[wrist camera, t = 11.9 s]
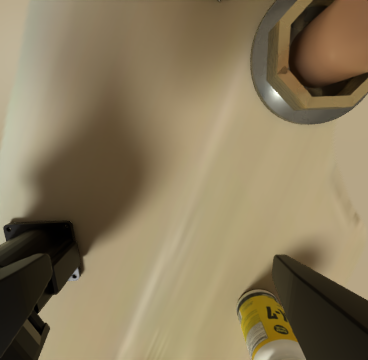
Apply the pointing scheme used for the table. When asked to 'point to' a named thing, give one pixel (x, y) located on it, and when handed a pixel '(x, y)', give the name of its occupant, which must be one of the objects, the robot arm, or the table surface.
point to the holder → (285, 81)
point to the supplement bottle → (267, 328)
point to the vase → (332, 45)
